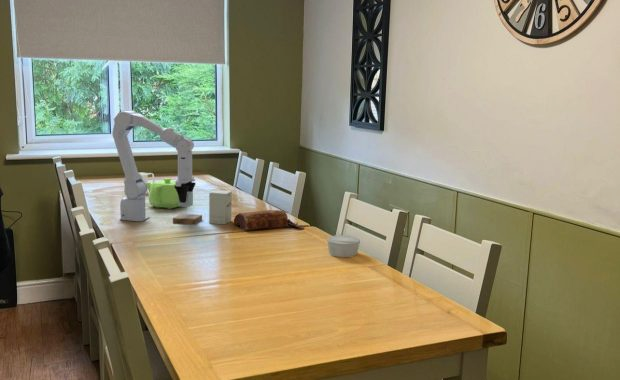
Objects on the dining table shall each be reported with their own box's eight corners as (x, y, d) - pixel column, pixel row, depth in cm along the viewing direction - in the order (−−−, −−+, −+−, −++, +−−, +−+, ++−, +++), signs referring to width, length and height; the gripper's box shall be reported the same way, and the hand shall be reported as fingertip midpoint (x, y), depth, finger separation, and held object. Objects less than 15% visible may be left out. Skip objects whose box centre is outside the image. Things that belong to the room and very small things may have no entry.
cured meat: (309, 229, 236) (309, 212, 235) (250, 234, 225) (250, 217, 224) (289, 221, 252) (289, 205, 251) (233, 225, 241) (233, 209, 240)
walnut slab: (172, 224, 239) (172, 218, 239) (181, 219, 248) (181, 213, 248) (194, 225, 238) (194, 219, 237) (202, 220, 247) (202, 215, 246)
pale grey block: (178, 206, 239) (178, 192, 238) (182, 204, 243) (182, 190, 242) (188, 206, 238) (188, 193, 237) (192, 204, 243) (192, 191, 242)
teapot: (133, 207, 266) (132, 179, 264) (160, 200, 285) (160, 173, 282) (167, 212, 259) (167, 182, 257) (193, 204, 278) (193, 176, 276)
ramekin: (336, 260, 194) (337, 244, 193) (320, 251, 204) (321, 236, 203) (365, 256, 199) (366, 241, 199) (348, 248, 209) (349, 234, 208)
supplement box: (226, 224, 239) (226, 193, 237) (208, 223, 241) (208, 192, 239) (232, 220, 246) (232, 190, 244) (215, 219, 248) (215, 189, 246)
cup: (157, 193, 303) (156, 173, 301) (133, 194, 297) (133, 175, 295) (152, 190, 310) (152, 171, 308) (129, 192, 304) (128, 172, 302)
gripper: (187, 170, 231) (187, 205, 233) (201, 166, 245) (201, 198, 247) (170, 169, 232) (170, 204, 234) (185, 165, 246) (185, 197, 248)
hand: (185, 201), depth 241 cm, fingers closed on pale grey block, 4 cm apart
